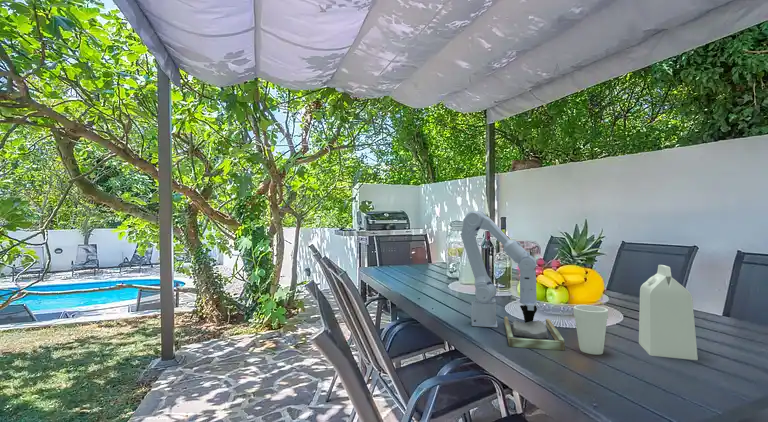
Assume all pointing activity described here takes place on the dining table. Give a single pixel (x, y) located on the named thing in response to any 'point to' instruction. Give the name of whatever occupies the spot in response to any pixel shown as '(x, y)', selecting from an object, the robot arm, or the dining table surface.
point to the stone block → (530, 329)
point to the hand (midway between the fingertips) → (528, 325)
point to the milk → (666, 317)
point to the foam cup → (591, 327)
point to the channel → (536, 343)
